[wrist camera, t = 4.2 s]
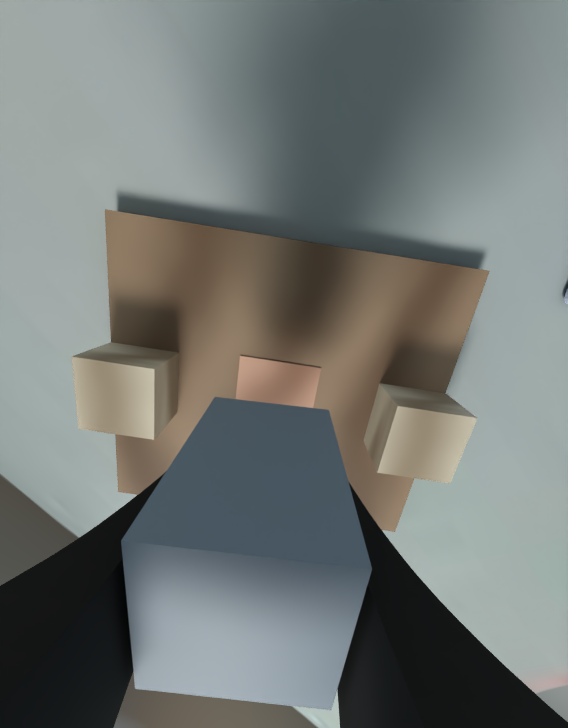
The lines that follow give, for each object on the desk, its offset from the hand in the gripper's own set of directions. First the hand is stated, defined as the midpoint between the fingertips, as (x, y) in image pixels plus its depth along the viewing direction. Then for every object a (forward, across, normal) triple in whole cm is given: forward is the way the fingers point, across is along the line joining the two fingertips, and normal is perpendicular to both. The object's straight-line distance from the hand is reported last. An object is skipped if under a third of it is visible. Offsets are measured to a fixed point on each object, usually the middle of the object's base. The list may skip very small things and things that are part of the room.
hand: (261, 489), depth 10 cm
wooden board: (+9, 0, 0) cm, 9 cm away
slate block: (+2, 0, 0) cm, 2 cm away
